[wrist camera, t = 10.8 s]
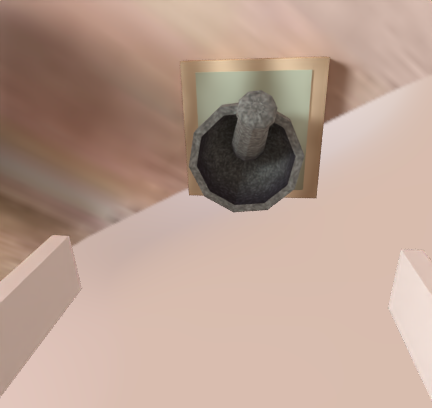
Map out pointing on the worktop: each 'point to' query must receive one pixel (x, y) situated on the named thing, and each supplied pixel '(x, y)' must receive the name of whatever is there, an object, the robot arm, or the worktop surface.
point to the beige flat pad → (269, 83)
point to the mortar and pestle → (246, 154)
